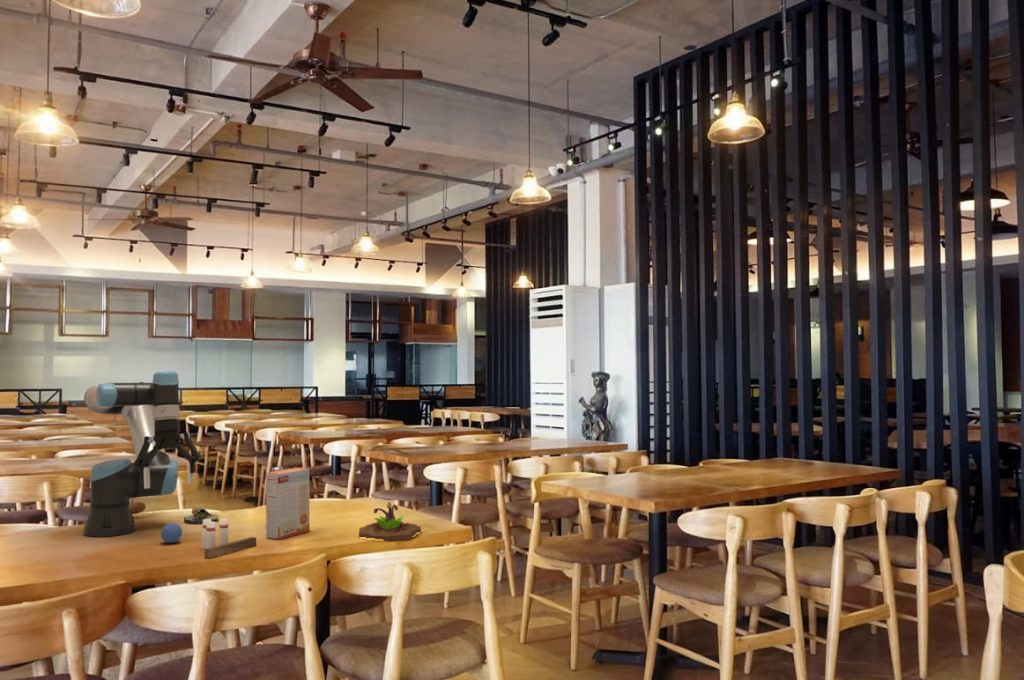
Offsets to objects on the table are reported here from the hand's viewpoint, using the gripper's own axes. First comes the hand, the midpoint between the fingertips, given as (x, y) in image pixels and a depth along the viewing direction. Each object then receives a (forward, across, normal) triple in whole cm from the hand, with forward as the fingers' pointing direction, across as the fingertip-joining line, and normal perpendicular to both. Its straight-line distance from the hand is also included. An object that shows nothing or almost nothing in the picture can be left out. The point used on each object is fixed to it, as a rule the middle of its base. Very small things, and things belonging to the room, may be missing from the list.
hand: (168, 486), depth 255 cm
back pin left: (+20, +20, -11) cm, 31 cm away
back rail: (+21, +24, -16) cm, 36 cm away
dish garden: (+13, -1, +30) cm, 32 cm away
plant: (+23, +68, +6) cm, 72 cm away
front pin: (+20, +15, -12) cm, 28 cm away
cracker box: (+19, +35, +6) cm, 40 cm away
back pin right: (+20, +18, -16) cm, 31 cm away
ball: (+14, +2, -5) cm, 16 cm away
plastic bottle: (+17, +28, +20) cm, 38 cm away
